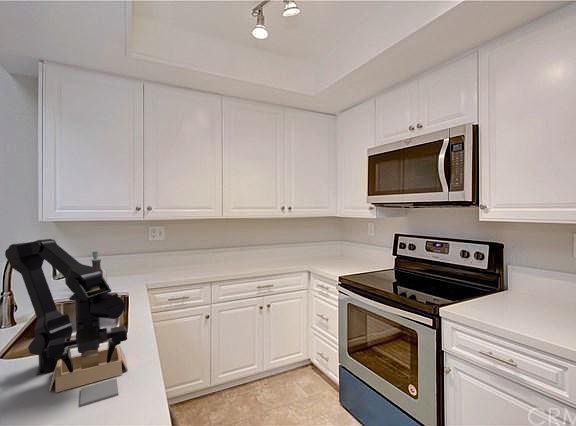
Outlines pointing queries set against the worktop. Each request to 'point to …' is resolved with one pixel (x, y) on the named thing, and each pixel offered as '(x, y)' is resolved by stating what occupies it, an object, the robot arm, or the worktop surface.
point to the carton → (88, 370)
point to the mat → (98, 392)
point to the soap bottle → (100, 267)
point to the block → (89, 359)
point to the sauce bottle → (97, 267)
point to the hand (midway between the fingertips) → (90, 370)
